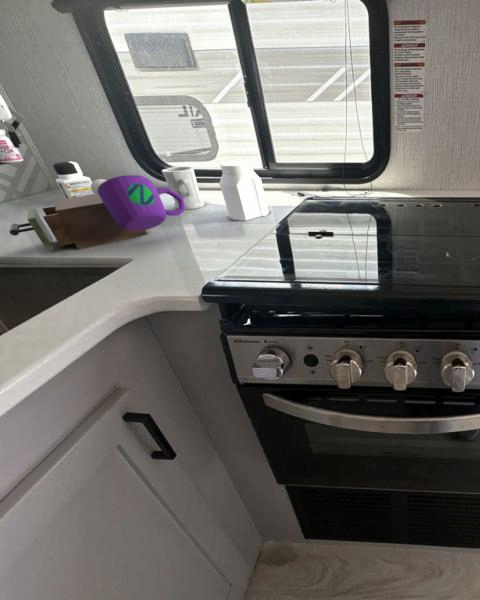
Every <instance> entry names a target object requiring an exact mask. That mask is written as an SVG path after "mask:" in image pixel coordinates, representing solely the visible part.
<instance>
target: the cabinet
mask: <svg viewBox="0 0 480 600" xmlns="http://www.w3.org/2000/svg"><path fill="white" fill-rule="evenodd" d="M53 203H54V206H55V208H56V212H57V214H58V215H59V217H60V219H61V221H62V222H63V224H64V226H65V227H66V229H67V231H68V233H69V234H70V236H71V238H72V240H73V241H74V243H73V244H74V245H75V247H76V248H77V249H78V250H79V249H85V248H89V247H92V246H93V247H95V246H98V245H102V244H107V243H112V242H116V241H117V242H118V241H121V240H125V239H126V240H127V239H129V238H134V237H138V236H139V237H140V236H144V235H147V234H148V233H147V230H141V231H129V230H125V229H123V228H121V227H120V226H119V225H118V224H117V223H116V222H115V220H114V219H113V218H112V216H111V215H110V213H109V211H108V210H107V208H106V206H105V205H104V203H103V201H102V199H101V198H100V196H99V194H93V195H87V196H80V197H73V198H67V199H66V198H60V199H54V200H53Z"/></svg>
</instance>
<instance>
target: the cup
mask: <svg viewBox="0 0 480 600" xmlns="http://www.w3.org/2000/svg"><path fill="white" fill-rule="evenodd" d="M161 173H162V175H163V177H164V179H165V181H166V183H167V186H168V189H170V190H172V191H174V192H175V193H177V194H178V195H180V196H181V197H182V198H183V200H184V203H185V210H184V211H189V210H196V209H199V208H203V207H204V206H205V204H206V203H205V199H203V198H202V195H201V192H200V188H199V186H198V181H197V177H196V173H195V169H194V167H193V166H174V167H168V168H164V169H162V170H161ZM172 198H173V200H174V203H173V204H174V207H175V209H176V210H177V209H179V202H178V200H177V199H175V198H174V197H172Z"/></svg>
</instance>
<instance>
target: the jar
mask: <svg viewBox="0 0 480 600" xmlns="http://www.w3.org/2000/svg"><path fill="white" fill-rule="evenodd" d="M220 168H221V172H222V174H221V177H220V180H219V183H218V185H219V187H220V189H221V193H222V197H223V199H224V203H225V206H226V207H225V208H226V210H227V214H228V217H229V219H231V220H233V221H248V220H249V221H250V220H252V219H255V218H260V217H265V216H267V215H268V214H269V208H268V205H267V201H266V195H265V191H264V186H263V182H262V178H261V177H260V176H259V175H258V174H257V173H256V171H254V169H253V164H252V161H249V160H234V161H227V162H222V163H221V164H220Z"/></svg>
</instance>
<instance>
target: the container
mask: <svg viewBox="0 0 480 600" xmlns="http://www.w3.org/2000/svg"><path fill="white" fill-rule="evenodd" d="M52 168H53V169H54V171H55V173H56V175H57V177H58V178H56V179H55V182H56V184H57V186H58V187H59V190H60V192H61V193H62V195H63V197H64V199H67V198H73V197H80V196H87V195H93V194H94V193H93V192H92V190H91V184H92V182H93V180H91V177H89V176H85V175H83V174H84V173H83V171H82V169H81V167H80V165H79V163H78V162H76V161H60V162H55V163H53V165H52Z"/></svg>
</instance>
